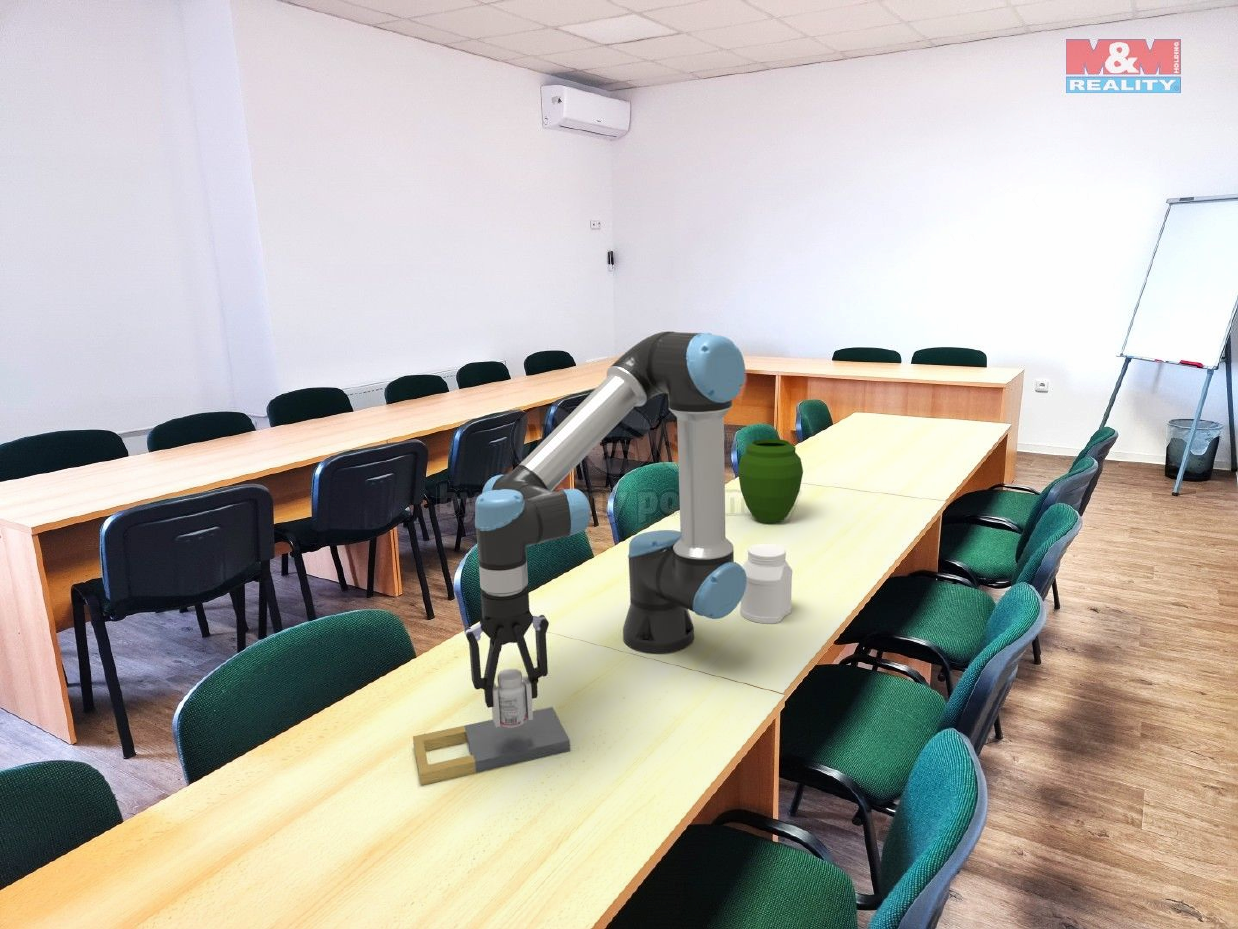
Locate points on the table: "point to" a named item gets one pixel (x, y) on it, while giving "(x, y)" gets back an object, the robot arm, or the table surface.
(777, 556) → the jar
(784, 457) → the vase
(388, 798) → the table surface
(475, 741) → the flat tray
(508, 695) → the pill bottle
